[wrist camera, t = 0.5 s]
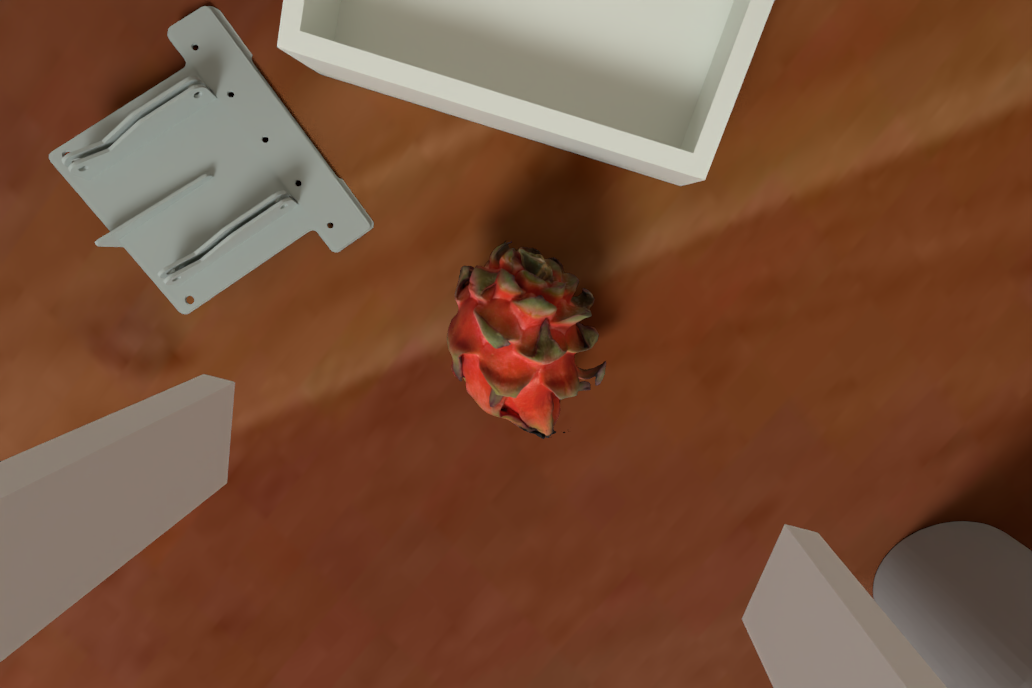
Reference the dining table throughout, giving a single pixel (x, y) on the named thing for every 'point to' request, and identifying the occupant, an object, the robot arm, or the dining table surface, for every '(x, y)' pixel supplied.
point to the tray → (550, 68)
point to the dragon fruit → (521, 337)
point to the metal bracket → (207, 171)
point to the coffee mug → (962, 603)
